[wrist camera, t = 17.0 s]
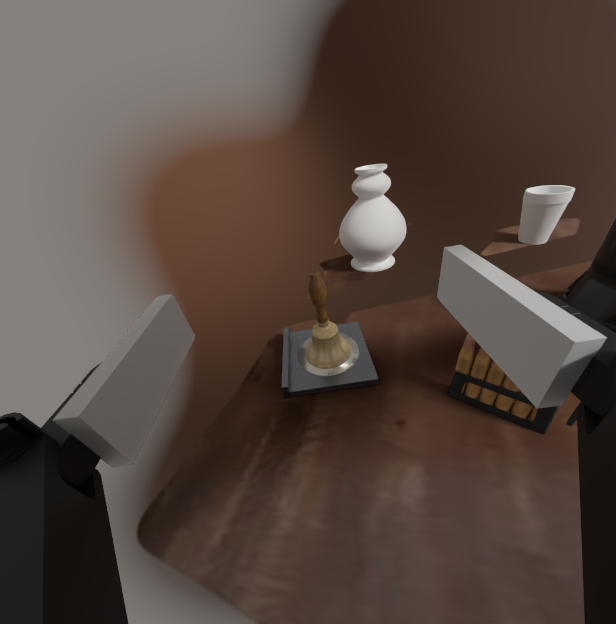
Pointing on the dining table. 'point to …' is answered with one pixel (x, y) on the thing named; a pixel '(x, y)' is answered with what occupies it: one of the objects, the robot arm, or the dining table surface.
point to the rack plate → (311, 379)
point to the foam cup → (542, 212)
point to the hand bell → (324, 332)
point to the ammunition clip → (495, 390)
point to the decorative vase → (372, 222)
